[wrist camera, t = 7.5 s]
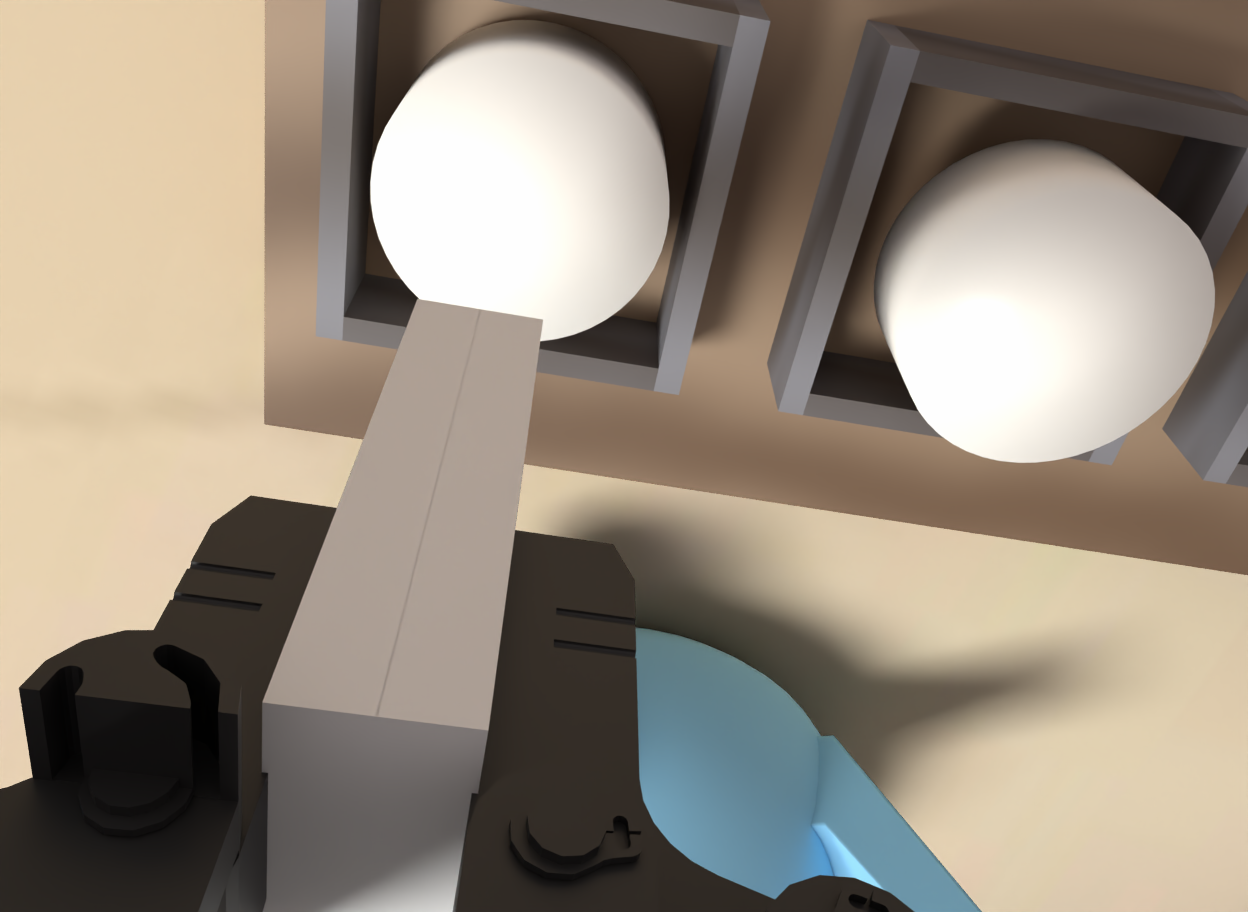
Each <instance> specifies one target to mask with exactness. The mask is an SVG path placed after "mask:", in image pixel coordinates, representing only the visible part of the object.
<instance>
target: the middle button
mask: <svg viewBox="0 0 1248 912" xmlns="http://www.w3.org/2000/svg"><path fill="white" fill-rule="evenodd" d="M874 304H875V310H876V316H877V319H878V322H879V325H880V328H881V331H882V333H883V335H884V337H885V340H886V342H887V344H888V346H889V349H890V351H891V353H892V355H893V358H894V360H895V362H896V364H897V366H898V369H899V371H900V373H901V375H902V378H903V380H904V382H905V384H906V387H907V389H908V391H909V393H910V395H911V397H912V399H913V401H914V403H915V405H916V407H917V409H918V411H919V412H920V414H921V415H922V416H923V418H924V419H925V420H926V422H927V423H928V424H929V425H930V426H931V427H932V428H933V429H934V430H935V431H936V432H937V433H938V434H939V435H941V436H942V437H944V438H945V439H946V440H948V441H949V442H950V443H952V444H954V445H956V446H957V447H959V448H961V449H963V450H965V451H967V452H970V453H973V454H975V455H978V456H981V457H984V458H989V459H993V460H998V461H1005V462H1015V463H1037V462H1045V461H1054V460H1059V459H1064V458H1068V457H1073V456H1076V455H1079V454H1082V453H1085V452H1088V451H1091V450H1094V449H1096V448H1099V447H1101V446H1103V445H1106V444H1108V443H1110V442H1112V441H1114V440H1116V439H1118V438H1119V437H1121V436H1123V435H1125V434H1127V433H1128V432H1130V431H1131V430H1133V429H1134V428H1136V427H1137V426H1139V425H1140V424H1141V423H1143V422H1144V421H1146V420H1147V419H1148V418H1149V417H1151V416H1152V415H1153V414H1154V413H1155V412H1156V411H1158V410H1159V409H1160V408H1161V407H1162V406H1163V405H1164V404H1165V403H1166V402H1167V401H1168V400H1169V399H1170V398H1171V397H1172V396H1173V395H1174V394H1175V393H1176V391H1177V390H1178V389H1179V388H1180V386H1181V385H1182V384H1183V382H1184V381H1185V380H1186V379H1187V377H1188V376H1189V374H1190V372H1191V371H1192V369H1193V368H1194V366H1195V364H1196V363H1197V361H1198V359H1199V357H1200V355H1201V353H1202V350H1203V348H1204V346H1205V344H1206V341H1207V338H1208V335H1209V332H1210V328H1211V325H1212V319H1213V314H1214V308H1215V286H1214V279H1213V272H1212V269H1211V266H1210V262H1209V259H1208V256H1207V254H1206V252H1205V250H1204V248H1203V246H1202V244H1201V242H1200V240H1199V239H1198V238H1197V236H1196V235H1195V234H1194V233H1193V231H1192V230H1191V229H1190V227H1189V226H1188V225H1187V224H1186V223H1185V222H1184V221H1182V220H1181V219H1180V218H1179V217H1178V216H1177V215H1176V214H1175V213H1174V212H1172V211H1171V210H1170V209H1169V208H1167V207H1166V206H1165V205H1164V204H1163V203H1161V202H1160V201H1159V200H1158V199H1157V198H1155V197H1154V196H1153V195H1152V194H1151V193H1149V192H1148V191H1147V190H1146V189H1145V188H1143V187H1142V186H1141V185H1140V184H1139V183H1137V182H1136V181H1135V180H1134V179H1132V178H1131V177H1130V176H1129V175H1128V174H1126V173H1125V172H1124V171H1123V170H1122V169H1120V168H1119V167H1118V166H1117V165H1116V164H1114V163H1113V162H1112V161H1110V160H1109V159H1107V158H1105V157H1104V156H1102V155H1101V154H1099V153H1097V152H1095V151H1093V150H1090V149H1088V148H1086V147H1084V146H1080V145H1077V144H1073V143H1069V142H1066V141H1058V140H1049V139H1027V140H1020V141H1013V142H1007V143H1003V144H1000V145H996V146H992V147H988V148H986V149H983V150H981V151H978V152H976V153H973V154H971V155H969V156H967V157H965V158H963V159H961V160H959V161H958V162H956V163H954V164H952V165H951V166H949V167H948V168H946V169H945V170H943V171H942V172H940V173H939V174H937V175H936V176H935V177H934V178H932V179H931V180H930V181H929V182H928V183H927V184H925V185H924V186H923V187H922V188H921V189H920V190H919V191H918V192H917V193H916V194H915V195H914V196H913V197H912V199H911V200H910V201H909V202H908V203H907V204H906V206H905V207H904V208H903V210H902V211H901V212H900V214H899V215H898V217H897V218H896V219H895V221H894V223H893V225H892V227H891V228H890V230H889V232H888V234H887V236H886V238H885V241H884V243H883V246H882V248H881V250H880V254H879V257H878V261H877V265H876V270H875V278H874Z"/></svg>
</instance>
